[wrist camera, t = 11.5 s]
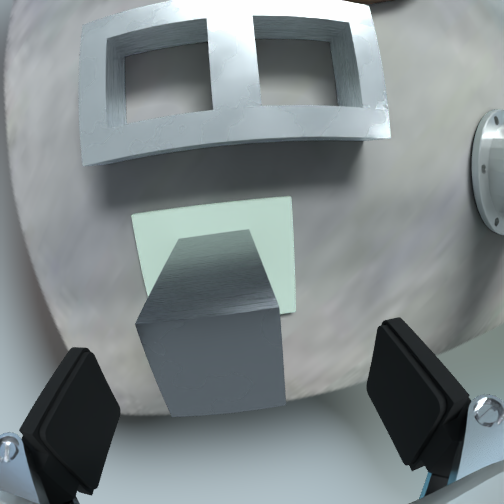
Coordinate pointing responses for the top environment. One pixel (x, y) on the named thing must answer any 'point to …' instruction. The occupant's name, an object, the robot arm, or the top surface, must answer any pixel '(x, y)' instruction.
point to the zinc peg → (214, 328)
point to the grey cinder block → (229, 76)
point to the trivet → (366, 1)
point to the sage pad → (218, 221)
